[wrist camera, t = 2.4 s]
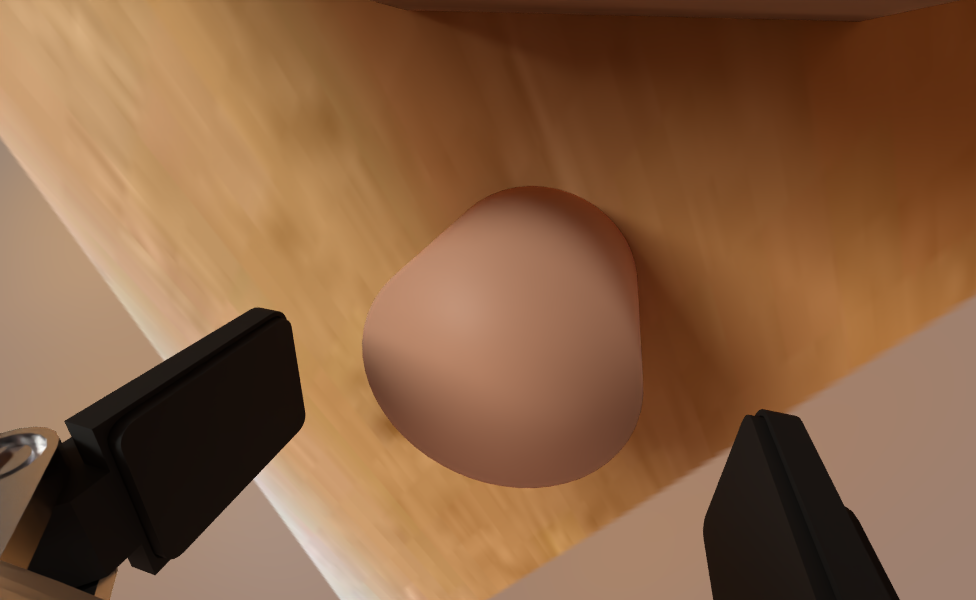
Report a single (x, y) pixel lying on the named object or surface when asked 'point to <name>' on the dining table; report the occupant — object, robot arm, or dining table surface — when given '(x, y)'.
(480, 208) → the peach rounded cylinder
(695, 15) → the walnut base block
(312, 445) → the dining table surface
